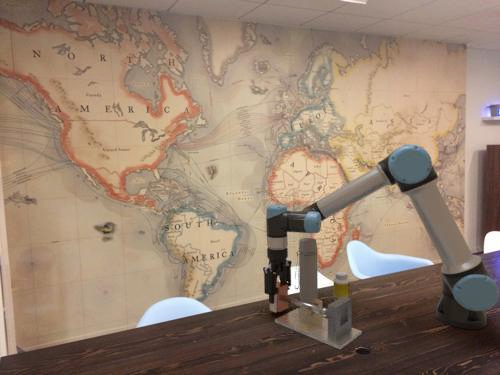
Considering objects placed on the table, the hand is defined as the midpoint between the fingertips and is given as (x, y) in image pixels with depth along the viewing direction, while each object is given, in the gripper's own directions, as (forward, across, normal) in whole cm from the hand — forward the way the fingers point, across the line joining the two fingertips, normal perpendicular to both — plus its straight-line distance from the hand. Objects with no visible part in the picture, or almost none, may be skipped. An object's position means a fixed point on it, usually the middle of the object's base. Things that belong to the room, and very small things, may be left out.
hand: (278, 308), depth 131 cm
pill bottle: (+2, -26, +11) cm, 28 cm away
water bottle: (+2, -16, +1) cm, 16 cm away
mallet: (0, 0, +9) cm, 9 cm away
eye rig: (+2, 0, +17) cm, 17 cm away
